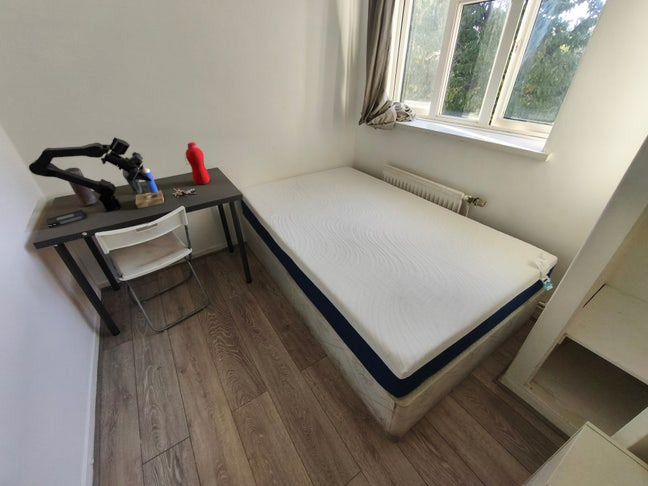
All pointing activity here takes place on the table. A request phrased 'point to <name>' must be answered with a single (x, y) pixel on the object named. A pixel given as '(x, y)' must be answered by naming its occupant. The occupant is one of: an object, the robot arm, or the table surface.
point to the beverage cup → (133, 184)
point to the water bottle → (197, 164)
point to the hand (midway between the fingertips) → (151, 179)
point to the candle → (82, 190)
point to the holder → (149, 199)
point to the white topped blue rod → (151, 183)
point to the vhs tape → (65, 218)
